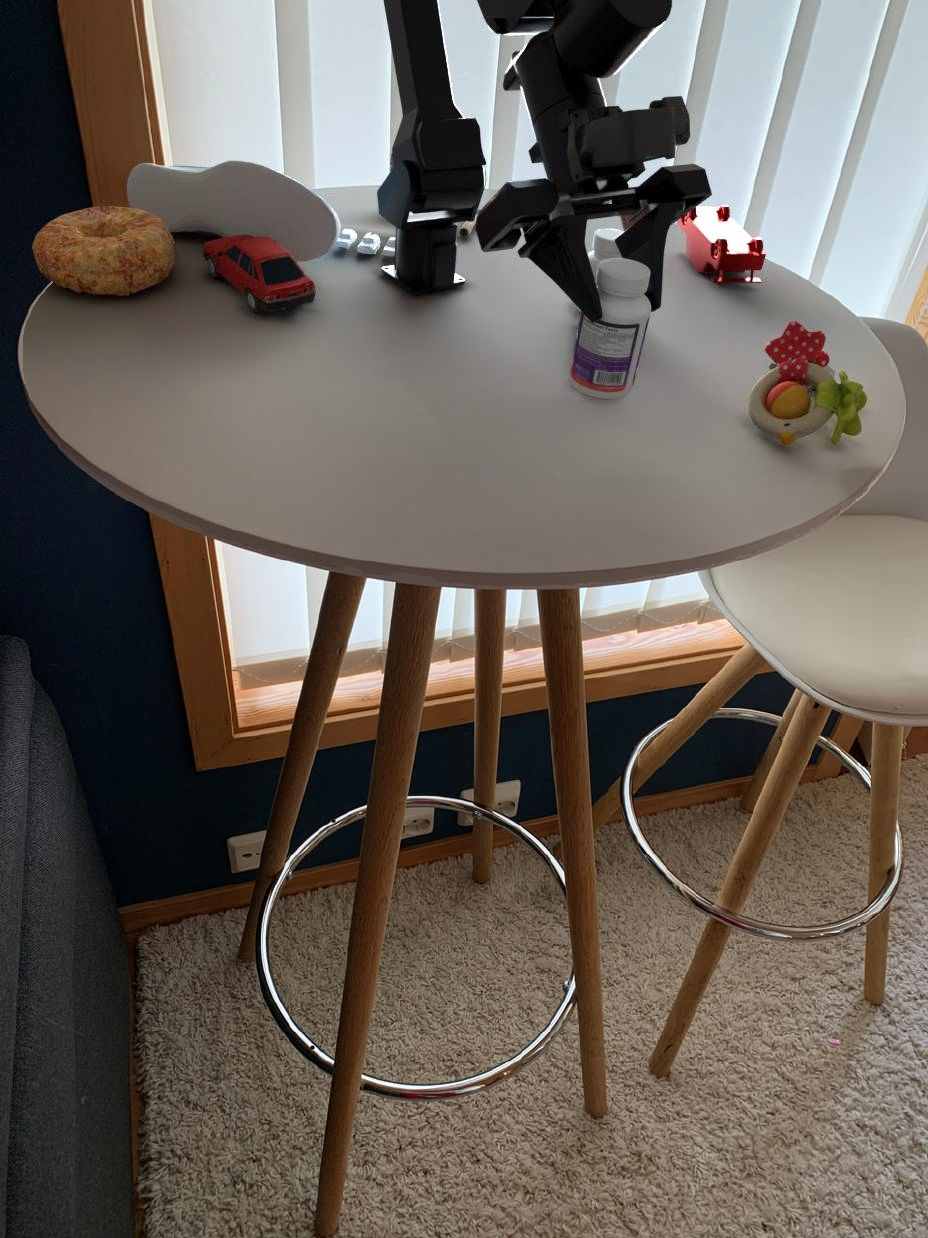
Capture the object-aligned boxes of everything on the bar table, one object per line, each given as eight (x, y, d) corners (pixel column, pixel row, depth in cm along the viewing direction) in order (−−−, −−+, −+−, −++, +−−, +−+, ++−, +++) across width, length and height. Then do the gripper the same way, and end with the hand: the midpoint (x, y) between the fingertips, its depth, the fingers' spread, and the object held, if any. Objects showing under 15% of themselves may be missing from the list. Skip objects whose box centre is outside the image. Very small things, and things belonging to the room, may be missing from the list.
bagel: (180, 241, 85) (191, 294, 88) (158, 192, 94) (169, 242, 98) (31, 263, 82) (48, 317, 85) (24, 210, 91) (40, 261, 94)
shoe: (330, 176, 90) (378, 167, 100) (120, 139, 95) (186, 134, 105) (326, 274, 95) (372, 257, 105) (126, 234, 99) (188, 221, 109)
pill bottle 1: (579, 299, 97) (592, 222, 92) (621, 306, 97) (636, 230, 91) (573, 315, 94) (586, 237, 89) (616, 323, 93) (632, 245, 88)
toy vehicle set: (310, 247, 101) (310, 229, 100) (321, 234, 104) (321, 218, 102) (418, 266, 100) (420, 248, 99) (426, 253, 103) (428, 236, 101)
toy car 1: (254, 254, 97) (249, 205, 93) (324, 311, 89) (323, 260, 86) (196, 266, 94) (189, 216, 90) (264, 327, 86) (259, 274, 83)
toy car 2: (723, 245, 99) (711, 290, 102) (772, 246, 100) (758, 290, 103) (680, 197, 109) (670, 240, 112) (724, 198, 110) (713, 240, 113)
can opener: (458, 227, 106) (459, 238, 107) (479, 226, 106) (480, 236, 107) (466, 206, 113) (467, 216, 114) (485, 204, 113) (486, 214, 114)
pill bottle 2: (591, 361, 80) (615, 247, 73) (644, 386, 77) (673, 270, 71) (554, 381, 76) (575, 264, 70) (608, 407, 74) (635, 288, 68)
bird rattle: (797, 447, 74) (895, 379, 73) (712, 357, 78) (802, 292, 78) (796, 482, 79) (886, 419, 79) (716, 396, 84) (800, 336, 83)
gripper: (517, 51, 60) (586, 289, 60) (731, 45, 68) (790, 255, 68) (446, 145, 70) (506, 348, 70) (639, 130, 78) (691, 313, 79)
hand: (626, 315), depth 72 cm, fingers closed on pill bottle 2, 5 cm apart
